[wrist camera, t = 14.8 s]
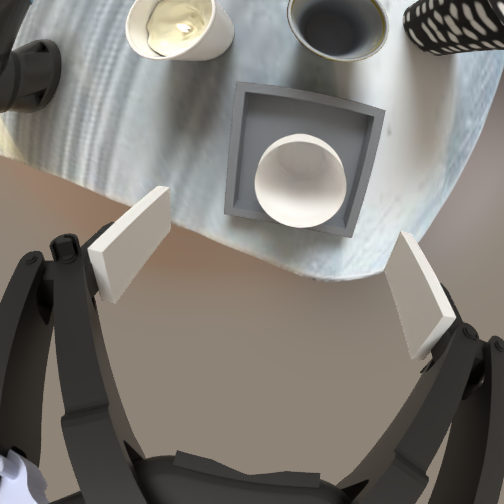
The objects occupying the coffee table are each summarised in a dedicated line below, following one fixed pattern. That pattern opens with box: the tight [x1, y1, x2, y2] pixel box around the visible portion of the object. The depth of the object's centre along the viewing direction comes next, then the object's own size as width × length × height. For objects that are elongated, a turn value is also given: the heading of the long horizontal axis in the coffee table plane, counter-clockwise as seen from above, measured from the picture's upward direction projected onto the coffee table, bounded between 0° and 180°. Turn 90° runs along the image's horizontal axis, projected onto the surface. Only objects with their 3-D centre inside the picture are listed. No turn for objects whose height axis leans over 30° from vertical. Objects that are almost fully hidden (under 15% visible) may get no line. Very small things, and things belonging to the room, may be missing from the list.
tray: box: [224, 82, 386, 238], centre depth 34 cm, size 18×18×4 cm
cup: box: [255, 134, 346, 228], centre depth 30 cm, size 9×9×12 cm
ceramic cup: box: [287, 0, 389, 62], centre depth 21 cm, size 13×10×10 cm
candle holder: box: [125, 0, 234, 61], centre depth 23 cm, size 10×10×12 cm
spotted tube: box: [403, 0, 504, 56], centre depth 13 cm, size 8×8×20 cm
